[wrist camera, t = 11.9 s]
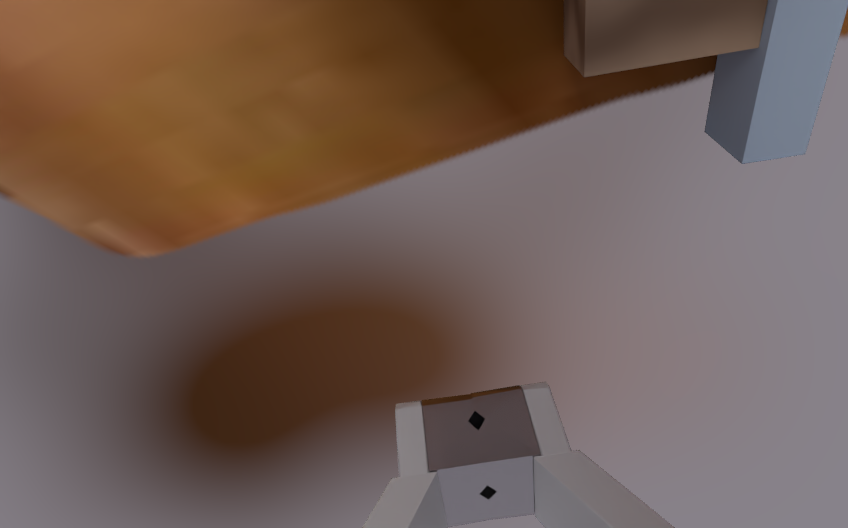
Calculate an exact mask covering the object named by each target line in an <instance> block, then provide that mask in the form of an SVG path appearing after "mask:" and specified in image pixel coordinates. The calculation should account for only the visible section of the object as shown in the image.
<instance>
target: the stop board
mask: <svg viewBox="0 0 848 528" xmlns="http://www.w3.org/2000/svg"><path fill="white" fill-rule="evenodd" d="M847 7H848V0H768V3H767V8H766V13H765V18H764V23H763V28H762V34H761V39H760V44H759V48H754V49H748V50H742V51H736V52H730V53H725V54H719V55H718V56H717V62H716V68H715V74H714V80H713V86H712V91H711V97H710V103H709V109H708V115H707V121H706V127H705V132H706V133H707V134H708V135H709V136H710V137H711V138H713V139H714V140H715V141H716V142H717V143H718V144H720V145H721V146H722V147H723V148H724V149H725V150H726V151H728V152H729V153H730V154H731V155H732V156H734V157H735V158H736V159H737V160H738V161H739V162H740V163H742V164H745V163H751V162H757V161H764V160H771V159H778V158H783V157H791V156H797V155H803V154H805V153H806V150H807V146H808V143H809V139H810V136H811V132H812V129H813V125H814V122H815V118H816V115H817V111H818V108H819V105H820V101H821V98H822V94H823V91H824V87H825V83H826V80H827V77H828V73H829V70H830V66H831V63H832V59H833V56H834V52H835V49H836V46H837V42H838V39H839V35H840V32H841V28H842V25H843V21H844V18H845V14H846V11H847Z"/></svg>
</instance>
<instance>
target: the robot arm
mask: <svg viewBox="0 0 848 528" xmlns="http://www.w3.org/2000/svg"><path fill="white" fill-rule="evenodd" d="M395 416H396V433H397V451H398V469H399V477H396V478H391V480H390V482H389V483H388V485H387V487H386V489H385V490H384V492H383V494H382V495H381V497H380V499H379V500H378V502H377V504H376V505H375V507H374V509H373V510H372V512H371V514H370V516H369V517H368V519H367V520H366V522H365V524H364V526H363V527H362V528H448V527H452V526H457V525H463V524H469V523H474V522H480V521H485V520H491V519H500V518H508V517H516V516H524V515H532V514H535V517H536V518H537V519H538V520H539V521H540V522H541V523H542V524H543V526H544V527H545V528H675V527H673V526H672V525H671V524H670V523H668V522H667V521H666V520H665V519H663V518H662V517H661V516H660V515H659V514H657V513H656V512H655V511H654V510H652V509H651V508H650V507H649V506H647V505H646V504H645V503H644V502H643V501H641V500H640V499H639V498H638V497H636V496H635V495H634V494H633V493H631V492H630V491H629V490H628V489H627V488H625V487H624V486H623V485H622V484H620V483H619V482H618V481H617V480H615V479H614V478H613V477H612V476H610V475H609V474H608V473H607V472H606V471H604V470H603V469H602V468H601V467H599V466H598V465H597V464H595V463H594V462H593V461H592V460H591V459H590V458H588V457H587V456H586V455H585V454H583V453H582V452H581V451H580V450H576V451H571V448H570V446H569V442H568V439H567V437H566V434H565V431H564V428H563V425H562V422H561V419H560V416H559V413H558V411H557V407H556V405H555V402H554V399H553V396H552V393H551V390H550V387H549V385H548V384H547V383H546V382H540V383H534V384H528V385H521V386H512V387H506V388H500V389H493V390H488V391H482V392H476V393H471V394H468V395H460V396H452V397H444V398H436V399H429V400H422V401H414V402H407V403H400V404H396V410H395Z"/></svg>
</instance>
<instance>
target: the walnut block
mask: <svg viewBox="0 0 848 528" xmlns="http://www.w3.org/2000/svg"><path fill="white" fill-rule="evenodd" d="M767 3H768V0H564V56H565V57H566V58H567V59H568V60H569V61H570V62H571V63H572V65H573V66H574V67H575V68H576V69H577V70H578V71H579V72H580V73H581V74H582V76H583V77H589V76H595V75H601V74H607V73H613V72H619V71H625V70H631V69H636V68H642V67H648V66H654V65H660V64H666V63H672V62H678V61H683V60H689V59H695V58H701V57H707V56H713V55H719V54H725V53H730V52H736V51H742V50H748V49H754V48H759V44H760V39H761V34H762V28H763V23H764V18H765V13H766V8H767Z"/></svg>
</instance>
